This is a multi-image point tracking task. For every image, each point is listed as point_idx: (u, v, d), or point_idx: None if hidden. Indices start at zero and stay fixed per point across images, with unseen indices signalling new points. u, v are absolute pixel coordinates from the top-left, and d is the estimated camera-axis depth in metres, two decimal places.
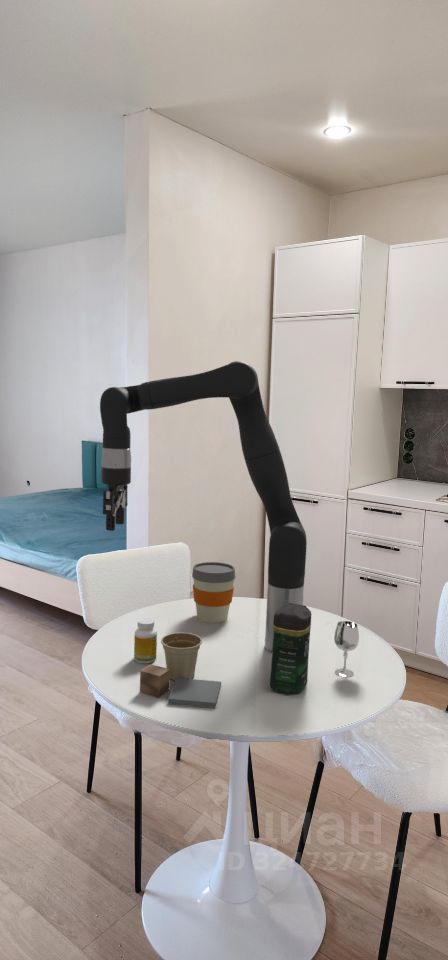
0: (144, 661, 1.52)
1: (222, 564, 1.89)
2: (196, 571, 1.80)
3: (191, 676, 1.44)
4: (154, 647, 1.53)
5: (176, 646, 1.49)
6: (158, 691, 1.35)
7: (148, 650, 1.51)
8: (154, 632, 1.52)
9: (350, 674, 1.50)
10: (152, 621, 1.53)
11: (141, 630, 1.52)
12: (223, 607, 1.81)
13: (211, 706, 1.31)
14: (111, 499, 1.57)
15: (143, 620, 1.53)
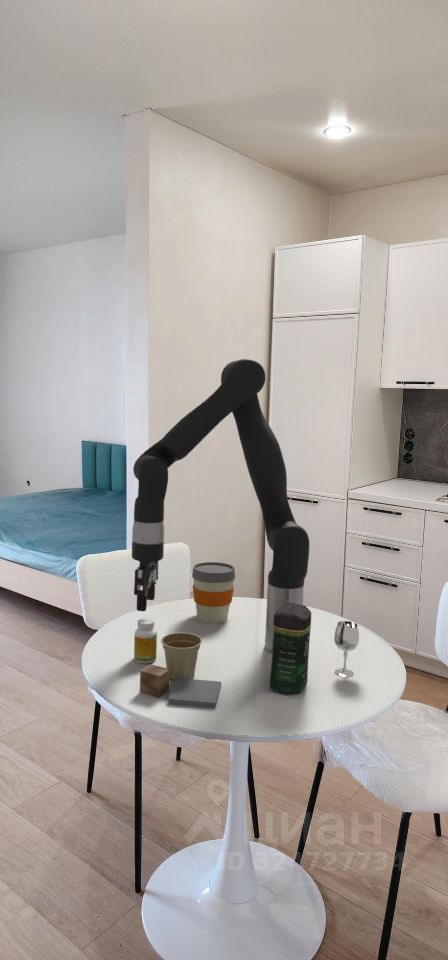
0: (144, 661, 1.52)
1: (222, 564, 1.89)
2: (196, 571, 1.80)
3: (191, 676, 1.44)
4: (154, 647, 1.53)
5: (176, 646, 1.49)
6: (158, 691, 1.35)
7: (148, 650, 1.51)
8: (154, 632, 1.52)
9: (350, 674, 1.50)
10: (152, 621, 1.53)
11: (141, 630, 1.52)
12: (223, 607, 1.81)
13: (211, 706, 1.31)
14: (143, 579, 1.45)
15: (143, 620, 1.53)
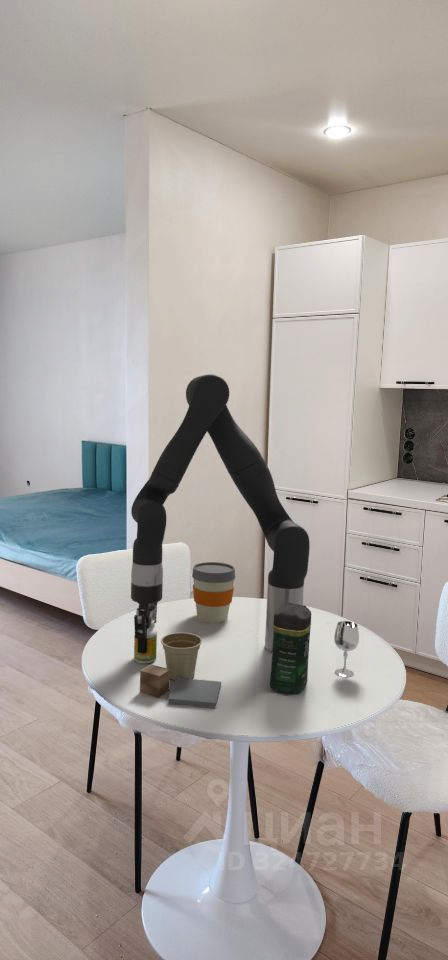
0: (144, 661, 1.52)
1: (222, 564, 1.89)
2: (196, 571, 1.80)
3: (191, 676, 1.44)
4: (154, 647, 1.53)
5: (176, 646, 1.49)
6: (158, 691, 1.35)
7: (148, 650, 1.51)
8: (154, 632, 1.52)
9: (350, 674, 1.50)
10: (152, 621, 1.53)
11: (141, 630, 1.52)
12: (223, 607, 1.81)
13: (211, 706, 1.31)
14: (143, 624, 1.46)
15: None
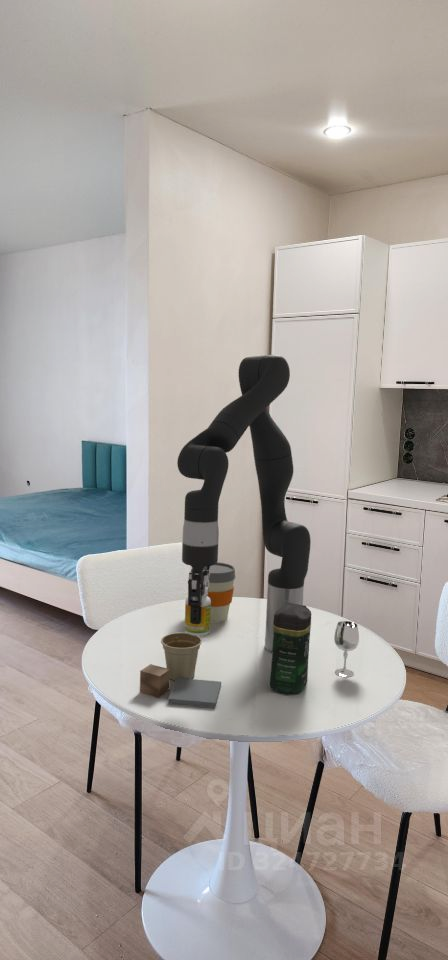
0: (197, 633, 1.32)
1: (222, 564, 1.89)
2: None
3: (191, 676, 1.44)
4: (208, 617, 1.33)
5: (176, 646, 1.49)
6: (158, 691, 1.35)
7: (202, 620, 1.32)
8: (208, 600, 1.33)
9: (350, 674, 1.50)
10: None
11: (193, 598, 1.33)
12: (223, 607, 1.81)
13: (211, 706, 1.31)
14: (198, 590, 1.27)
15: None
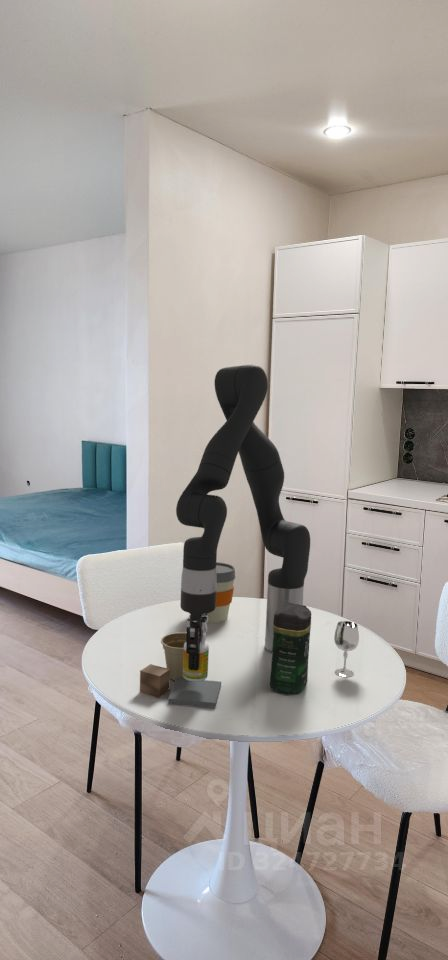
0: (195, 679, 1.34)
1: (222, 564, 1.89)
2: None
3: None
4: (206, 663, 1.35)
5: (176, 646, 1.49)
6: (158, 691, 1.35)
7: (200, 666, 1.34)
8: (206, 646, 1.35)
9: (350, 674, 1.50)
10: (204, 633, 1.35)
11: (191, 644, 1.34)
12: (223, 607, 1.81)
13: (211, 706, 1.31)
14: (196, 638, 1.29)
15: None
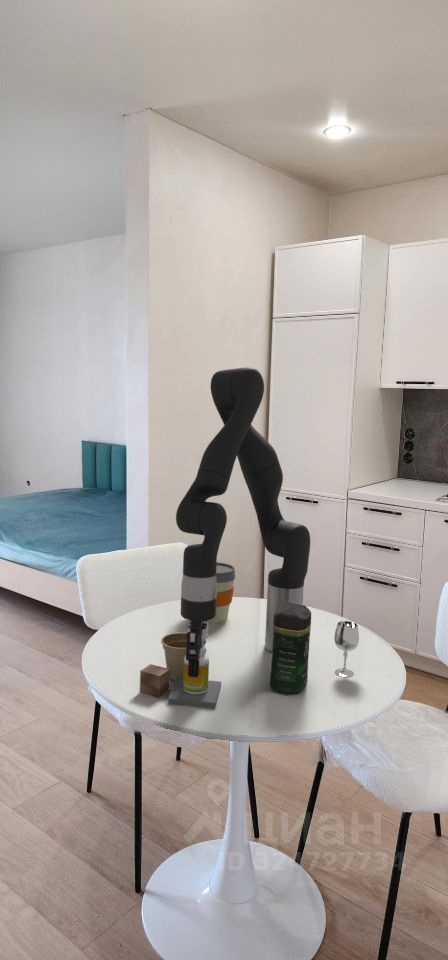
0: (195, 692, 1.34)
1: (222, 564, 1.89)
2: None
3: None
4: (206, 676, 1.35)
5: (176, 646, 1.49)
6: (158, 691, 1.35)
7: (200, 679, 1.34)
8: (206, 659, 1.35)
9: (350, 674, 1.50)
10: (204, 646, 1.36)
11: None
12: (223, 607, 1.81)
13: (211, 706, 1.31)
14: (196, 643, 1.28)
15: None
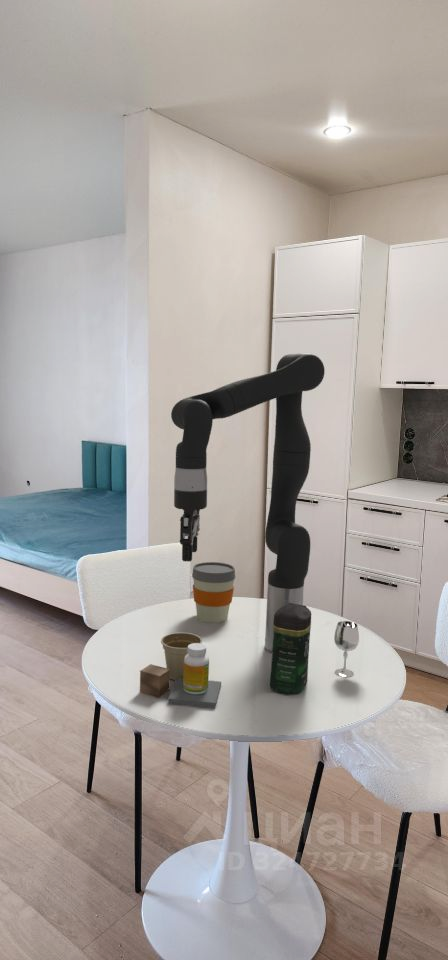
0: (195, 692, 1.34)
1: (222, 564, 1.89)
2: (196, 571, 1.80)
3: None
4: (206, 676, 1.35)
5: (176, 646, 1.49)
6: (158, 691, 1.35)
7: (200, 679, 1.34)
8: (206, 659, 1.35)
9: (350, 674, 1.50)
10: (204, 646, 1.36)
11: (192, 657, 1.34)
12: (223, 607, 1.81)
13: (211, 706, 1.31)
14: (189, 526, 1.39)
15: (194, 645, 1.36)
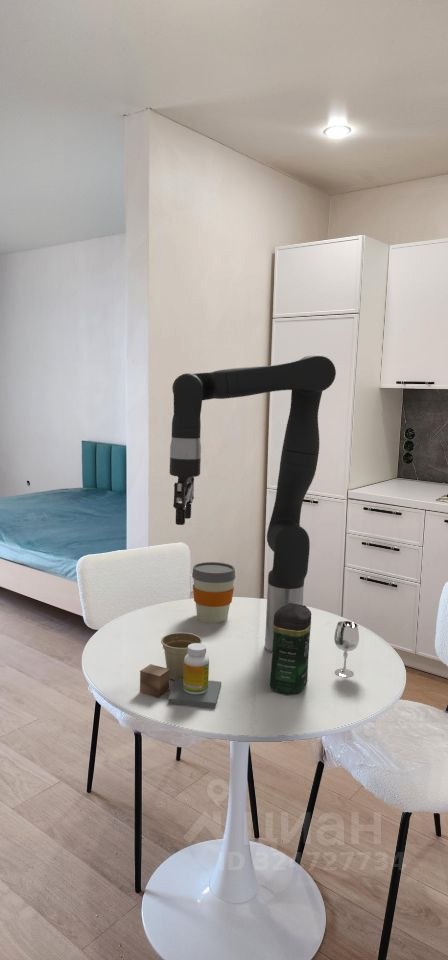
0: (195, 692, 1.34)
1: (222, 564, 1.89)
2: (196, 571, 1.80)
3: None
4: (206, 676, 1.35)
5: (176, 646, 1.49)
6: (158, 691, 1.35)
7: (200, 679, 1.34)
8: (206, 659, 1.35)
9: (350, 674, 1.50)
10: (204, 646, 1.36)
11: (192, 657, 1.34)
12: (223, 607, 1.81)
13: (211, 706, 1.31)
14: (182, 491, 1.49)
15: (194, 645, 1.36)
